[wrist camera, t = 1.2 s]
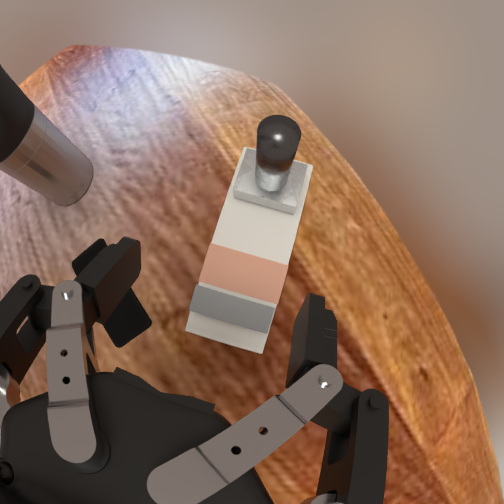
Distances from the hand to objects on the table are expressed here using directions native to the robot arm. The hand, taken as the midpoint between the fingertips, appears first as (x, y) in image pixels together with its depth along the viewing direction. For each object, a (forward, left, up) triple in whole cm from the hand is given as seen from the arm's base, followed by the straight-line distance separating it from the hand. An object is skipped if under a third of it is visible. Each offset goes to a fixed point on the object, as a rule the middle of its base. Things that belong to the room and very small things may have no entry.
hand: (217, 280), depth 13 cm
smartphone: (-12, -15, -25) cm, 31 cm away
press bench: (-4, +5, -25) cm, 26 cm away
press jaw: (-8, +12, -22) cm, 27 cm away
